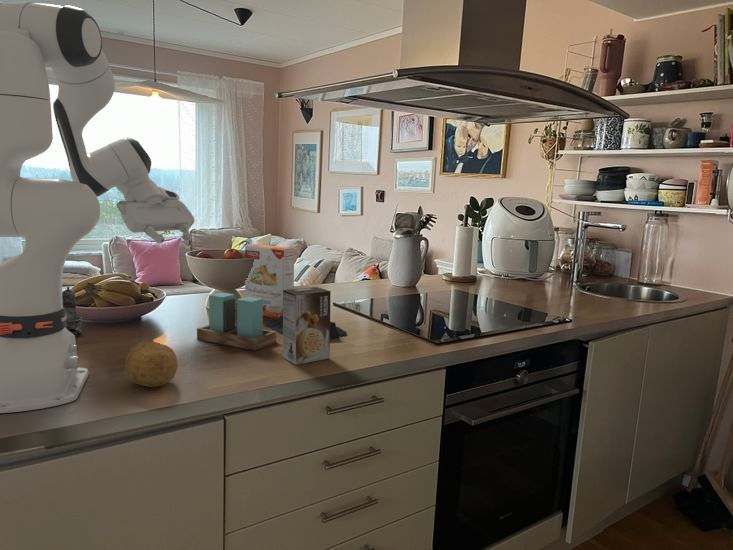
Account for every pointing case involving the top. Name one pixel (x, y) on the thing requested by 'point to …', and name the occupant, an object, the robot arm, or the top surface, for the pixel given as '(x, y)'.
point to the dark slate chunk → (278, 327)
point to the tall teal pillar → (222, 312)
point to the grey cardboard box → (306, 325)
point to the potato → (151, 364)
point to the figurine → (71, 311)
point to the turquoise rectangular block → (249, 317)
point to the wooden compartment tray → (236, 338)
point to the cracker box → (270, 276)
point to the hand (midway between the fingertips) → (175, 240)
